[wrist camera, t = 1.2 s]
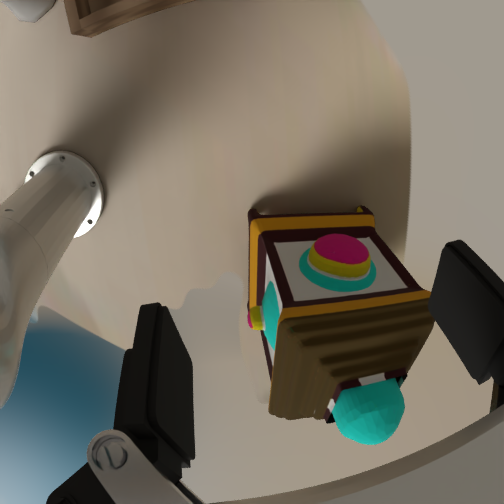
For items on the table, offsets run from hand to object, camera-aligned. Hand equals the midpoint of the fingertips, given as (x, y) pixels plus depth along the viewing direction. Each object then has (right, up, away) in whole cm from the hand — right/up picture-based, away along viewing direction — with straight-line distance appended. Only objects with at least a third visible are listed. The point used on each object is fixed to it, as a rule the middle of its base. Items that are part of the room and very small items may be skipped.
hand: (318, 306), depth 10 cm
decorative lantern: (+6, +1, +38) cm, 38 cm away
